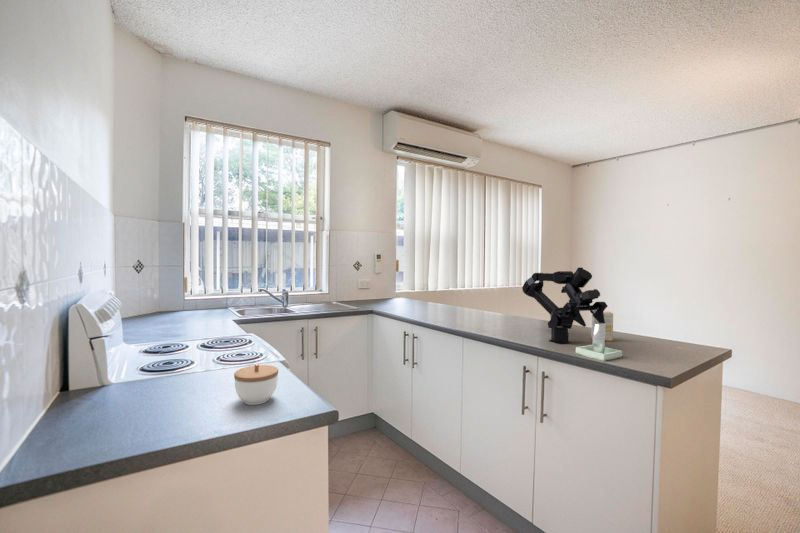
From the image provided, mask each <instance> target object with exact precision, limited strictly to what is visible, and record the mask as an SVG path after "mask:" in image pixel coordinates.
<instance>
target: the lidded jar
mask: <svg viewBox="0 0 800 533" xmlns="http://www.w3.org/2000/svg"><path fill="white" fill-rule="evenodd" d="M233 376H234V378H233V379H234V387H235V388H234V389H235V393H236V395H237V397H238V398H239V399H240V400H241V401H243V403H244V404H246V405H248V406H257V405H262V404H265V403H267V402H268V401H269V400H270V398H271V397H272V396H273V395H274V394H275V391H276V389H277V385H278V379H279V377H278V376H279V368H278V367H277V366H273V365H269V364H257V363H255V364H254V365H250V366H245V367H241V368H240V369H237V370H236V371H235V372H234V373H233Z"/></svg>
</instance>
